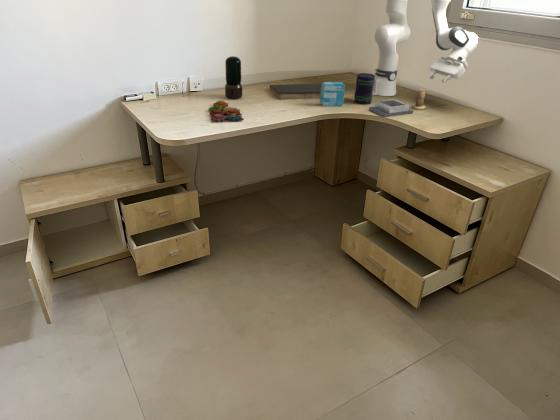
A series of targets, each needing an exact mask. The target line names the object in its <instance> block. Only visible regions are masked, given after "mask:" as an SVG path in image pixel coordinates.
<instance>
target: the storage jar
mask: <svg viewBox="0 0 560 420" xmlns="http://www.w3.org/2000/svg"><path fill="white" fill-rule="evenodd" d="M374 80H375V74H373V73H367V72H365V73H364V72H361V73H357V75H356V82H355V84H356V85H355V86H356V87H355V92H354V96H353V97H354V100H353V102H354V104H357V105H362V106H363V105H364V106H368V105H371V104H372V100H373V95H372V94H373V93H372V91H373V86H374Z"/></svg>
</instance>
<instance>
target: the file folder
mask: <svg viewBox="0 0 560 420" xmlns="http://www.w3.org/2000/svg"><path fill="white" fill-rule="evenodd" d="M322 83H323V82H322ZM322 83H298V84H297V83H293V84H290V83H289V84H270V85H269V90H270V91H271V92H272V93H273V94H274V95H275V97H277V99H279V100H282V101H284V100H285V101H286V100H305V99H310V100H311V99H320V96H321V85H322Z"/></svg>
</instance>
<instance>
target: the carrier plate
mask: <svg viewBox="0 0 560 420" xmlns="http://www.w3.org/2000/svg"><path fill="white" fill-rule="evenodd" d="M368 110H369V111H370V112H372V113H374V114H376V115H379V116H381V117H383V118H387V117H395V116H404V115H411V114H414V109H412V108H410V105H409V104H407V103H405V102H402V101H400V100H397V99H395V98H392V99H385V100H384V99H383V100H381V99H380V100H375V103H374V106H369V107H368Z"/></svg>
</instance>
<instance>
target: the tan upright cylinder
mask: <svg viewBox="0 0 560 420" xmlns="http://www.w3.org/2000/svg"><path fill="white" fill-rule="evenodd" d="M426 93H427V90H426V89H423V88H418V89H417V94H416V99H415V103H413V104H412V105H411V109H412V110H415V109H416V111H425V110H426V105H425V104H424V102H425V97H426Z"/></svg>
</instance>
